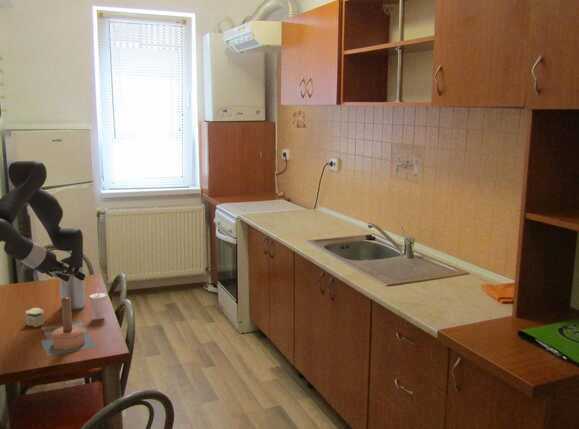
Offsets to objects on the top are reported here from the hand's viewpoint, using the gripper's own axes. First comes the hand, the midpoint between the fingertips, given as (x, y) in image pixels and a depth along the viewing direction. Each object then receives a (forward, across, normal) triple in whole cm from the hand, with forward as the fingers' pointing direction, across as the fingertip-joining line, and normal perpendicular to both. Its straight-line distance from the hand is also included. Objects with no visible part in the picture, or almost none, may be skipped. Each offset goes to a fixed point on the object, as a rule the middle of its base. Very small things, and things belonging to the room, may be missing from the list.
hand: (76, 278), depth 193 cm
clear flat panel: (+16, +19, +13) cm, 28 cm away
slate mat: (+12, +6, +20) cm, 24 cm away
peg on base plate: (+11, +6, +19) cm, 23 cm away
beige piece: (+13, +34, +12) cm, 38 cm away
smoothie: (+28, +18, +4) cm, 34 cm away
